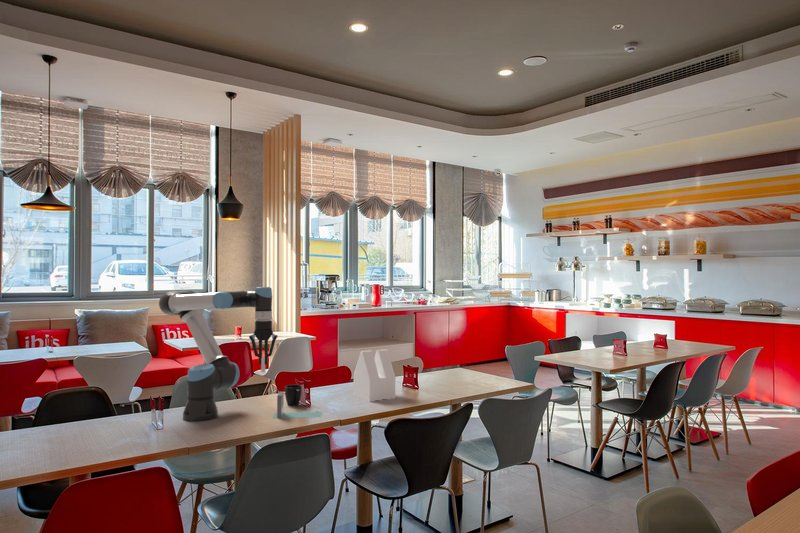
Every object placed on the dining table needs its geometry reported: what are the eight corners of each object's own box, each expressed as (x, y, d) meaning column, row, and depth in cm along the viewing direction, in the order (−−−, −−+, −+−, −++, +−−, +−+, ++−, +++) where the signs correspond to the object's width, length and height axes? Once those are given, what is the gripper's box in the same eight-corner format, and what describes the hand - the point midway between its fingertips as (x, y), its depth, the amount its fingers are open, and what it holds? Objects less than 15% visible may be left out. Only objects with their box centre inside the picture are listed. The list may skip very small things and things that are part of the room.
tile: (277, 417, 249) (277, 395, 249) (279, 413, 258) (279, 391, 258) (281, 417, 249) (281, 395, 249) (283, 412, 258) (283, 391, 258)
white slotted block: (353, 395, 301) (353, 349, 301) (378, 392, 309) (378, 347, 309) (369, 401, 284) (369, 353, 285) (395, 398, 292) (395, 351, 293)
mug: (290, 409, 266) (290, 389, 267) (282, 404, 277) (282, 385, 277) (306, 407, 271) (306, 388, 271) (298, 402, 281) (298, 384, 281)
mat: (272, 419, 248) (272, 418, 248) (274, 413, 258) (274, 412, 258) (321, 417, 251) (321, 417, 251) (322, 412, 260) (322, 411, 260)
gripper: (247, 321, 249) (247, 373, 248) (277, 320, 250) (276, 372, 250) (250, 319, 256) (250, 370, 256) (278, 319, 258) (278, 370, 257)
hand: (263, 371), depth 253 cm, fingers closed
